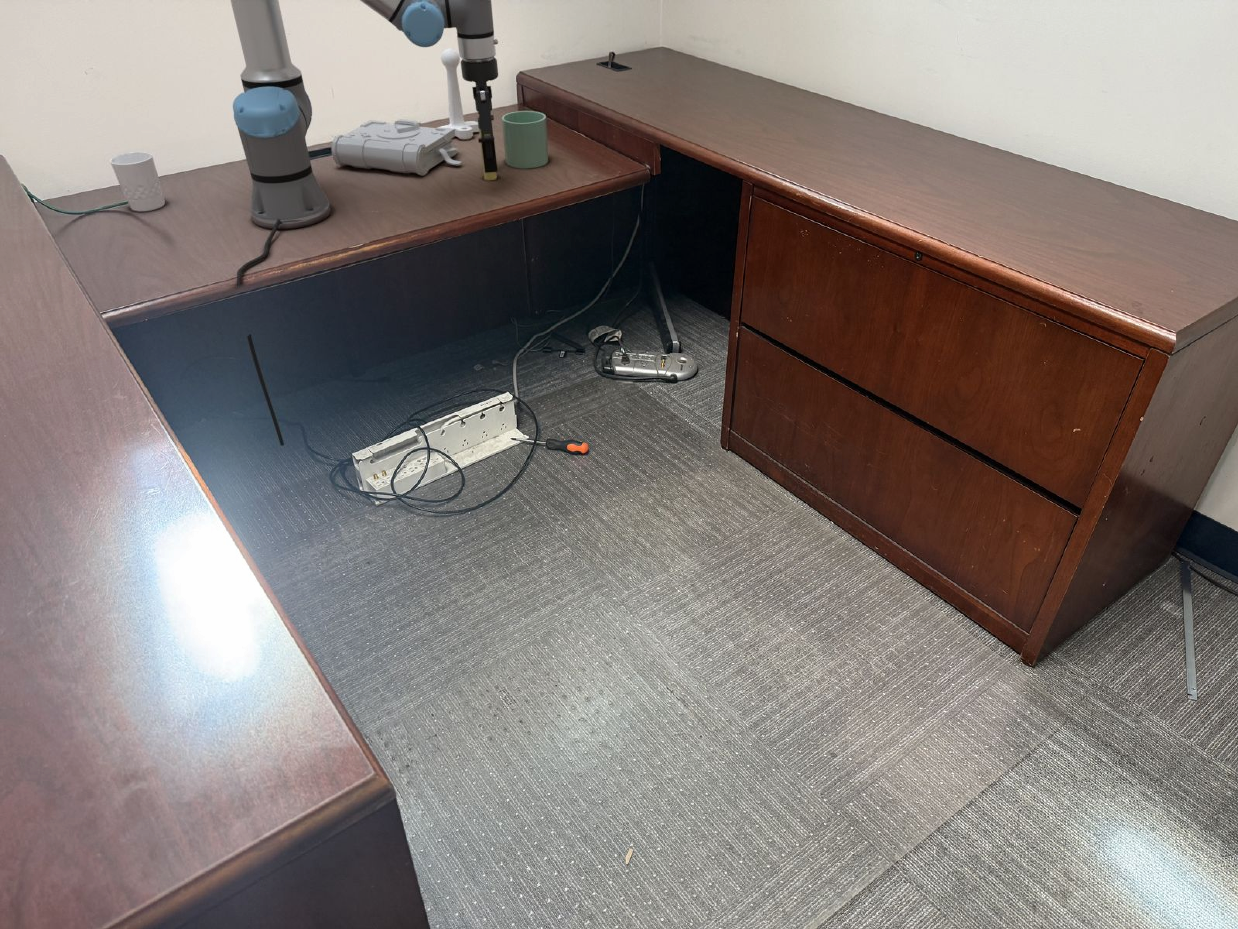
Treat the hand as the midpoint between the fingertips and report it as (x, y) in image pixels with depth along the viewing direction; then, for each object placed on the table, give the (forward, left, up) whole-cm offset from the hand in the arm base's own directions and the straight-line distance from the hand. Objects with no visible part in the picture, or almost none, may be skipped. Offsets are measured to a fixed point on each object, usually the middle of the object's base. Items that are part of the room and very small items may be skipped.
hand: (490, 161), depth 188 cm
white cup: (-4, +72, -4) cm, 72 cm away
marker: (0, 0, -4) cm, 4 cm away
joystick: (+32, +6, -4) cm, 33 cm away
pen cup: (+10, -9, -4) cm, 14 cm away
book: (+15, +19, -4) cm, 25 cm away
